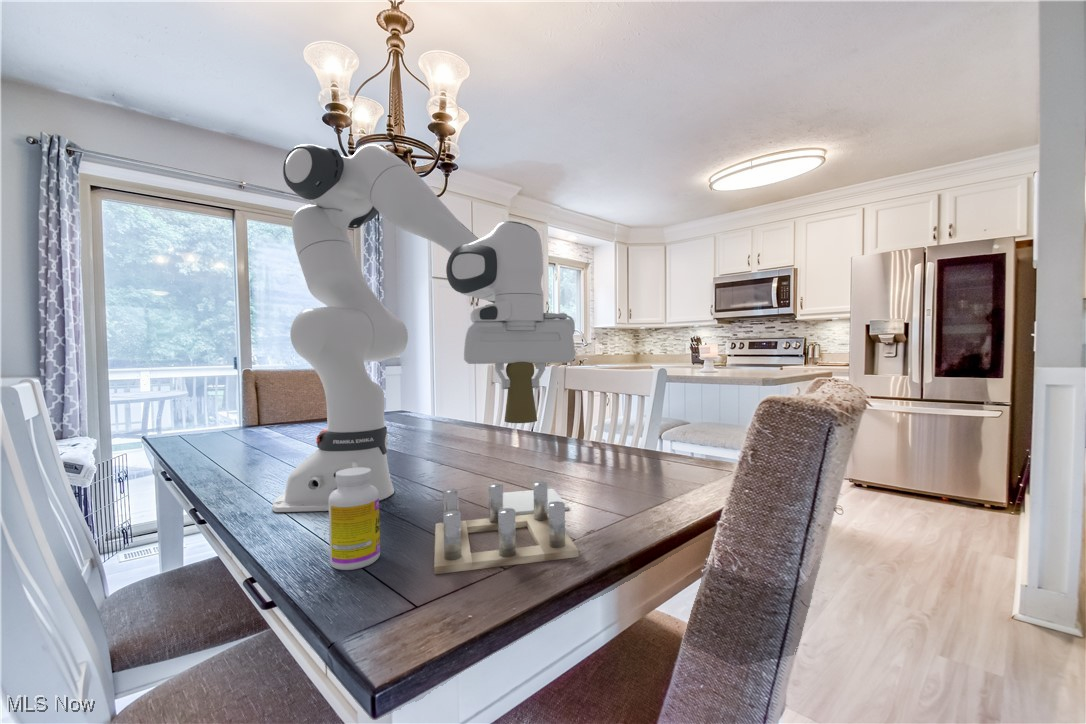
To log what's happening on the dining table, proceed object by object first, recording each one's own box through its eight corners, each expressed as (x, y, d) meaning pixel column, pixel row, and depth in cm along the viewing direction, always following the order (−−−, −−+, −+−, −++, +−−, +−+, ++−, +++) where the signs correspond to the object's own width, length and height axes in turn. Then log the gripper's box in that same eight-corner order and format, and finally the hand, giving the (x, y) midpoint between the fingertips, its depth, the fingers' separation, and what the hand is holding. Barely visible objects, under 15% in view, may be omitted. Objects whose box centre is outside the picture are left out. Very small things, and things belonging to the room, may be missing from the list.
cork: (539, 418, 85) (538, 360, 85) (535, 423, 79) (534, 360, 79) (507, 418, 86) (507, 360, 85) (501, 423, 80) (500, 361, 79)
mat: (504, 516, 81) (504, 512, 81) (496, 496, 93) (496, 493, 93) (568, 510, 84) (568, 506, 84) (553, 491, 95) (552, 488, 95)
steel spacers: (444, 564, 60) (443, 520, 60) (443, 523, 75) (442, 487, 75) (569, 550, 64) (568, 508, 64) (544, 513, 79) (544, 479, 79)
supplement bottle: (384, 564, 63) (382, 472, 63) (332, 576, 60) (329, 480, 59) (375, 547, 69) (374, 463, 69) (327, 557, 65) (325, 469, 65)
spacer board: (434, 574, 60) (434, 566, 60) (435, 529, 75) (435, 523, 75) (578, 556, 64) (578, 549, 64) (551, 517, 80) (551, 512, 80)
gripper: (570, 314, 87) (570, 386, 87) (462, 313, 83) (463, 388, 83) (579, 311, 81) (579, 388, 81) (463, 310, 77) (464, 391, 77)
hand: (520, 388), depth 82 cm, fingers closed on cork, 4 cm apart
